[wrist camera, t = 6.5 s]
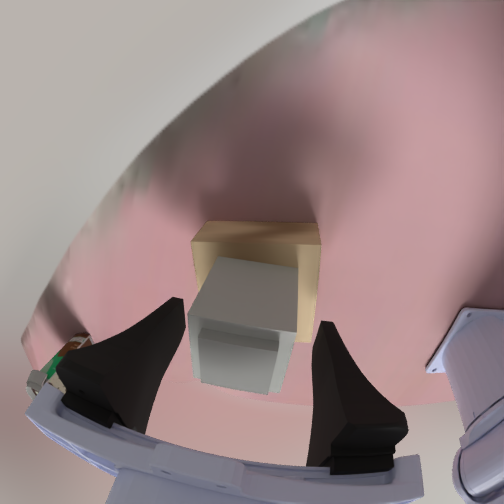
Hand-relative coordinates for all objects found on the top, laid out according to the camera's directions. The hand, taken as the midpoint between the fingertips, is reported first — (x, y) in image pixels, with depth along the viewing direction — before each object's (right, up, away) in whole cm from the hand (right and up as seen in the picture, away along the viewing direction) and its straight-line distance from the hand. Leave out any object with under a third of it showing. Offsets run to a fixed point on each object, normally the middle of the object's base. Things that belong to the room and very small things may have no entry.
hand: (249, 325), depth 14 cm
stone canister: (0, +1, +2) cm, 3 cm away
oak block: (+1, +3, +5) cm, 6 cm away
